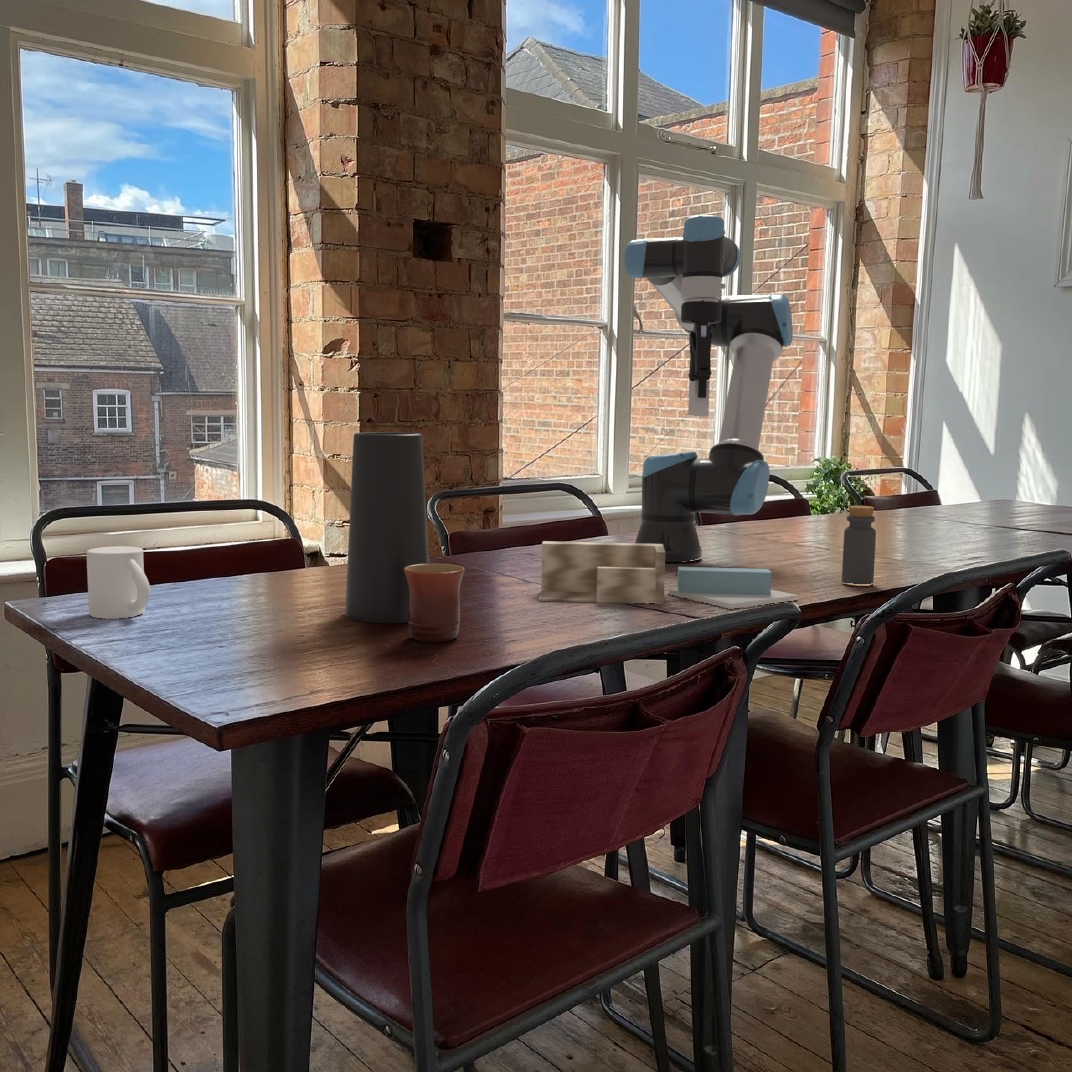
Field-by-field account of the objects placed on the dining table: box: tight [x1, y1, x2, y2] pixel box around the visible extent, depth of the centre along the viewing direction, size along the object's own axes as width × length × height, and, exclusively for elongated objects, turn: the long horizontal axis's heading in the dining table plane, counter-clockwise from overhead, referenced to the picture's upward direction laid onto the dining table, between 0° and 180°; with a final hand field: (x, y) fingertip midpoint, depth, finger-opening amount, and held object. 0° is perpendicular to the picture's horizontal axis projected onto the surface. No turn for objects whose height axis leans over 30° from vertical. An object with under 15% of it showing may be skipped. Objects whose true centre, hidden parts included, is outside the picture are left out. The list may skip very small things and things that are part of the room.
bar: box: [676, 566, 772, 595], centre depth 191 cm, size 16×4×4 cm, turn 86°
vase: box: [345, 431, 430, 624], centre depth 171 cm, size 14×14×29 cm
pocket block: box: [538, 540, 666, 605], centre depth 190 cm, size 22×10×9 cm, turn 86°
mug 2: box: [404, 563, 465, 643], centre depth 158 cm, size 12×9×10 cm
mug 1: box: [86, 545, 151, 620], centre depth 169 cm, size 8×10×12 cm
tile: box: [667, 587, 799, 610], centre depth 192 cm, size 16×16×1 cm
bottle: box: [841, 505, 877, 584], centre depth 206 cm, size 6×6×15 cm
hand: (698, 416), depth 205 cm, fingers open, 13 cm apart
